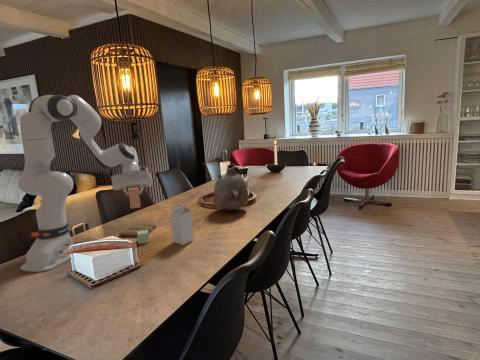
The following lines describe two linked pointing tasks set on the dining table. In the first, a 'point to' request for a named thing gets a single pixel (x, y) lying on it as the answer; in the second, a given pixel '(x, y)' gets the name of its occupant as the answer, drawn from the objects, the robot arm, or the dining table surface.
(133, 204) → the terracotta block
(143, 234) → the sage block
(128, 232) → the walnut board
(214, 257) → the dining table surface
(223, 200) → the jug
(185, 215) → the milk carton
